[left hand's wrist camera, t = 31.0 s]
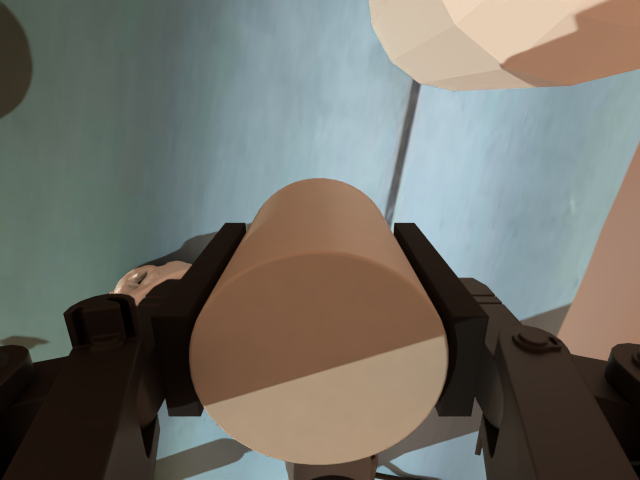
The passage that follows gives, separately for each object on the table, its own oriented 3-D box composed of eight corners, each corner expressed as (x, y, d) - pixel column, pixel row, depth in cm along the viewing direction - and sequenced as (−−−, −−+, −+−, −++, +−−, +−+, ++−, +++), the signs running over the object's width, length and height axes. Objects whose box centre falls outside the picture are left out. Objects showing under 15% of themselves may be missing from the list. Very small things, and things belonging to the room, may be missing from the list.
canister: (298, 148, 14) (275, 194, 7) (417, 228, 15) (506, 341, 8) (224, 264, 15) (143, 400, 8) (336, 329, 16) (349, 498, 9)
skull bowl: (91, 259, 48) (95, 296, 38) (199, 236, 55) (227, 262, 45) (110, 328, 51) (119, 378, 41) (210, 298, 58) (237, 335, 48)
